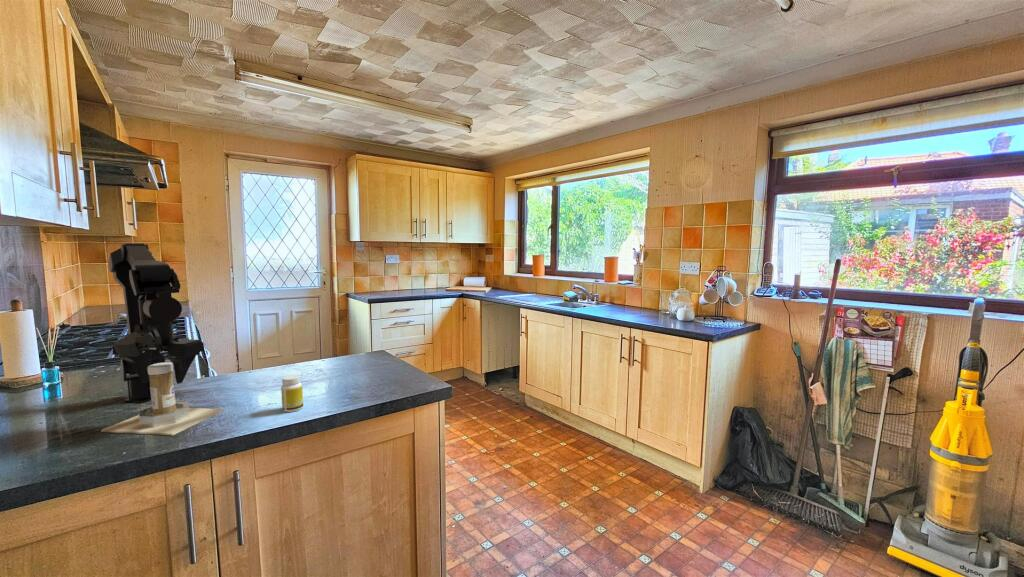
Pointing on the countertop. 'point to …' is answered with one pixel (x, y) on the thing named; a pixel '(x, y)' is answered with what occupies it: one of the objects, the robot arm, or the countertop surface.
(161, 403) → the sprinkles bottle
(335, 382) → the countertop surface
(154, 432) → the dock plate
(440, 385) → the countertop surface
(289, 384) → the supplement bottle
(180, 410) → the socket collar
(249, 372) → the countertop surface
